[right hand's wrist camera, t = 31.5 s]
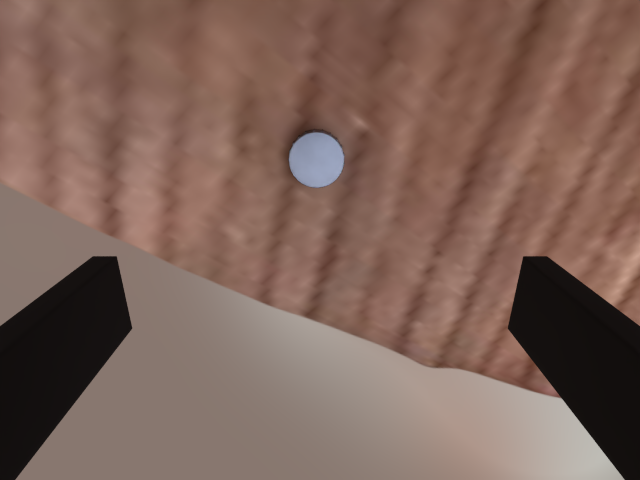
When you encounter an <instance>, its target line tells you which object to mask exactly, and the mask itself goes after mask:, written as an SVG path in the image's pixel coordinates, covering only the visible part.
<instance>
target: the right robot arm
mask: <svg viewBox="0 0 640 480" xmlns="http://www.w3.org/2000/svg"><path fill="white" fill-rule="evenodd" d="M131 329H132V325H131V321H130V316H129V311H128V307H127V302H126V298H125V293H124V288H123V283H122V279H121V274H120V270H119V265H118V260H117V257H116V256H93V257H92V258H90V259H89V260H88V261H86V262H85V263H84V264H82V265H81V266H80V267H78V268H77V269H76V270H74V271H73V272H72V273H70V274H69V275H68V276H66V277H65V278H64V279H62V280H61V281H60V282H58V283H57V284H56V285H54V286H53V287H52V288H50V289H49V290H48V291H46V292H45V293H44V294H42V295H41V296H40V297H38V298H37V299H36V300H34V301H33V302H32V303H30V304H29V305H28V306H26V307H25V308H24V309H22V310H21V311H20V312H18V313H17V314H16V315H14V316H13V317H12V318H10V319H9V320H8V321H6V322H5V323H4V324H2V325H1V326H0V480H15V479H16V478H17V477H18V475H19V474H20V473H21V472H22V470H23V469H24V468H25V466H26V465H27V464H28V462H29V461H30V460H31V459H32V457H33V456H34V455H35V453H36V452H37V451H38V450H39V448H40V447H41V446H42V444H43V443H44V442H45V440H46V439H47V438H48V437H49V435H50V434H51V433H52V431H53V430H54V429H55V428H56V426H57V425H58V424H59V422H60V421H61V420H62V419H63V417H64V416H65V415H66V413H67V412H68V411H69V409H70V408H71V407H72V406H73V404H74V403H75V402H76V400H77V399H78V398H79V397H80V395H81V394H82V393H83V391H84V390H85V389H86V387H87V386H88V385H89V384H90V382H91V381H92V380H93V378H94V377H95V376H96V375H97V373H98V372H99V371H100V369H101V368H102V367H103V366H104V364H105V363H106V362H107V360H108V359H109V358H110V356H111V355H112V354H113V353H114V351H115V350H116V349H117V347H118V346H119V345H120V344H121V342H122V341H123V340H124V338H125V337H126V336H127V334H128V333H129V332H130V331H131ZM508 329H509V331H510V332H511V333H512V334H513V336H514V337H515V338H516V340H517V341H518V342H519V344H520V345H521V346H522V347H523V349H524V350H525V351H526V353H527V354H528V355H529V356H530V358H531V359H532V360H533V362H534V363H535V364H536V366H537V367H538V368H539V369H540V371H541V372H542V373H543V375H544V376H545V377H546V378H547V380H548V381H549V382H550V384H551V385H552V386H553V387H554V389H555V390H556V391H557V393H558V394H559V395H560V397H561V398H562V399H563V400H564V402H565V403H566V404H567V406H568V407H569V408H570V409H571V411H572V412H573V413H574V415H575V416H576V417H577V418H578V420H579V421H580V422H581V424H582V425H583V426H584V428H585V429H586V430H587V431H588V433H589V434H590V435H591V437H592V438H593V439H594V440H595V442H596V443H597V444H598V446H599V447H600V448H601V450H602V451H603V452H604V453H605V455H606V456H607V457H608V459H609V460H610V461H611V462H612V464H613V465H614V466H615V468H616V469H617V470H618V471H619V473H620V474H621V475H622V477H623V478H624V479H625V480H640V326H639V325H638V324H636V323H635V322H634V321H632V320H631V319H630V318H628V317H627V316H626V315H624V314H623V313H622V312H620V311H619V310H618V309H616V308H615V307H614V306H612V305H611V304H610V303H608V302H607V301H606V300H604V299H603V298H602V297H600V296H599V295H598V294H596V293H595V292H594V291H592V290H591V289H590V288H588V287H587V286H586V285H584V284H583V283H582V282H580V281H579V280H578V279H576V278H575V277H574V276H572V275H571V274H570V273H568V272H567V271H566V270H564V269H563V268H562V267H560V266H559V265H558V264H556V263H555V262H554V261H552V260H551V259H550V258H548V257H547V256H523V260H522V265H521V270H520V274H519V279H518V283H517V288H516V293H515V297H514V302H513V307H512V311H511V316H510V321H509V325H508Z"/></svg>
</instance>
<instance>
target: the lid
mask: <svg viewBox="0 0 640 480" xmlns="http://www.w3.org/2000/svg"><path fill="white" fill-rule="evenodd" d="M289 152H290V154H289V159H288V161H289V166H290V169H291V172H292V174H293V175H294V177H295V178H296V179H297V180H298V181H299V182H300V183H302V184H304V185H306V186H309V187H313V188H320V187H325V186H327V185H329V184H331V183H333V182H334V181H335V180H336V179H337V178H338V177H339V175H340V174H341V172H342V169H343V166H344V156H345V155H344V152H343V151H342V145H340V143H339V142H338V140H337V138H335V137H334V136H333V135H332V134H331V133H328V132H326V131H323V130H315V129H314V130H310V131H306V132H305V133H303V134H302V135H299V136H298V138H297V139H296V140H295V141H294V142H293V146H292V148H291V149H290V151H289Z"/></svg>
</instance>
